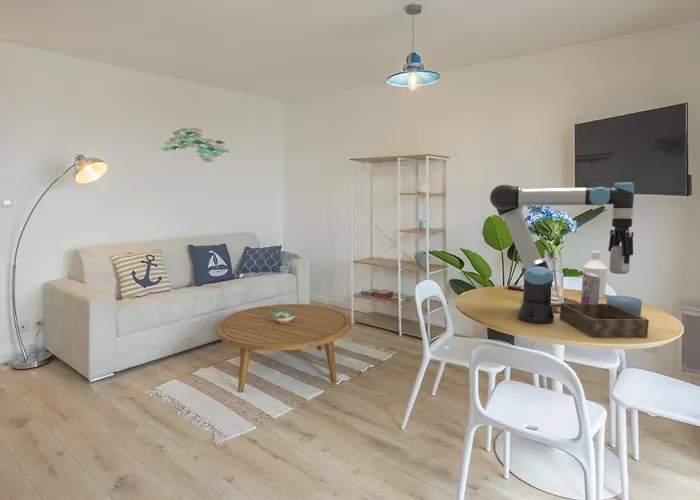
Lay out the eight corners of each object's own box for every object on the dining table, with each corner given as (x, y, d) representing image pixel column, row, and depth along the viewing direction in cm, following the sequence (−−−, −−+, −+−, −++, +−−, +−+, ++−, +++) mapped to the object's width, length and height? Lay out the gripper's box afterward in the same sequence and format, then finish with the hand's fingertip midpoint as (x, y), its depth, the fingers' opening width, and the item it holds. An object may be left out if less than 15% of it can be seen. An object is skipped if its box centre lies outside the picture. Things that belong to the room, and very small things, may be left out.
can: (606, 272, 196) (608, 246, 195) (612, 270, 201) (614, 244, 200) (625, 274, 191) (627, 247, 189) (631, 272, 196) (633, 246, 194)
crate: (591, 336, 176) (593, 320, 175) (559, 318, 202) (560, 303, 201) (647, 336, 176) (648, 320, 176) (608, 318, 203) (609, 303, 202)
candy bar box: (580, 303, 231) (582, 272, 229) (590, 303, 230) (593, 272, 228) (587, 308, 220) (589, 276, 218) (598, 308, 219) (600, 276, 217)
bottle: (586, 292, 257) (589, 249, 253) (608, 295, 248) (612, 251, 244) (577, 295, 249) (580, 251, 246) (600, 299, 240) (603, 253, 237)
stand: (617, 319, 200) (618, 302, 199) (599, 311, 214) (600, 295, 213) (647, 319, 201) (649, 302, 200) (627, 311, 214) (629, 295, 213)
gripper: (645, 218, 183) (642, 273, 186) (617, 216, 203) (614, 265, 206) (627, 219, 183) (623, 273, 186) (601, 216, 203) (598, 265, 206)
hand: (619, 269), depth 196 cm, fingers closed on can, 7 cm apart
